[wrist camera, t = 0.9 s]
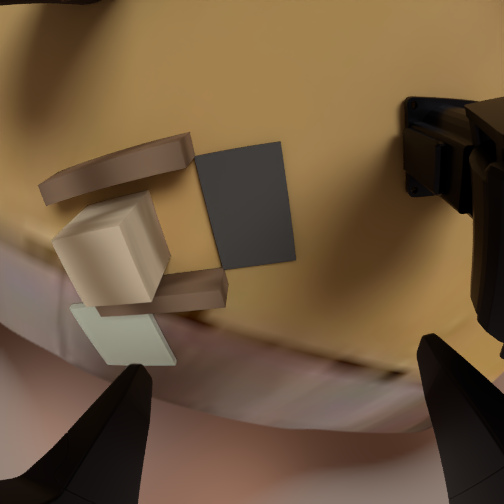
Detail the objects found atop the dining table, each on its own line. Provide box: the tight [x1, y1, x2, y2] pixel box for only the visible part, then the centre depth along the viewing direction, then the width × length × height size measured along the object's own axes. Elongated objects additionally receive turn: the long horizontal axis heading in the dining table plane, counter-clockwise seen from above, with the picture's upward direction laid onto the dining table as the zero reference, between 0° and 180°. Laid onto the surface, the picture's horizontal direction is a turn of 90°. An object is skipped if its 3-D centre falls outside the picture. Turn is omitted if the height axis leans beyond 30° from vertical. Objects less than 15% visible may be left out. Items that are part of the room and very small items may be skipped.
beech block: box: [51, 190, 171, 307], centre depth 18 cm, size 5×5×5 cm
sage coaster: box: [69, 303, 177, 366], centre depth 25 cm, size 8×8×1 cm
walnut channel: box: [38, 132, 228, 317], centre depth 19 cm, size 10×11×2 cm
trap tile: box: [194, 142, 296, 270], centre depth 19 cm, size 5×8×1 cm, turn 10°
